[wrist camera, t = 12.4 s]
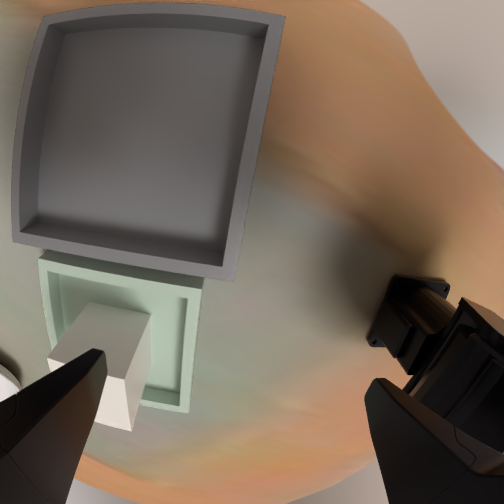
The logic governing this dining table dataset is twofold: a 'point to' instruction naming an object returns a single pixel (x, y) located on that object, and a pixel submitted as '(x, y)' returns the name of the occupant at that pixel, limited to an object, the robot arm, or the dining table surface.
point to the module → (111, 357)
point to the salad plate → (7, 384)
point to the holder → (135, 299)
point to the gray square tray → (143, 133)
